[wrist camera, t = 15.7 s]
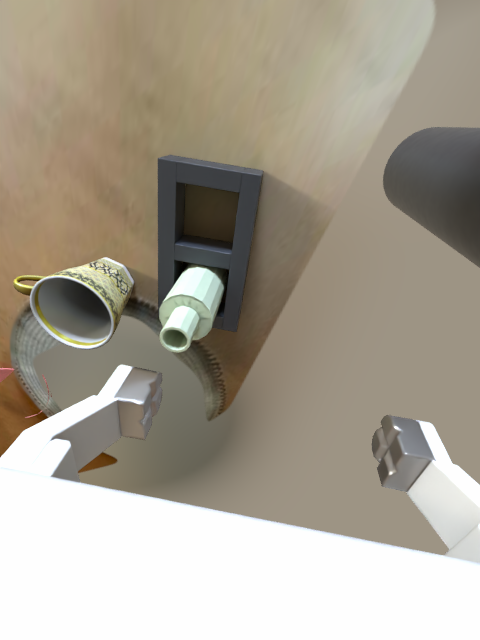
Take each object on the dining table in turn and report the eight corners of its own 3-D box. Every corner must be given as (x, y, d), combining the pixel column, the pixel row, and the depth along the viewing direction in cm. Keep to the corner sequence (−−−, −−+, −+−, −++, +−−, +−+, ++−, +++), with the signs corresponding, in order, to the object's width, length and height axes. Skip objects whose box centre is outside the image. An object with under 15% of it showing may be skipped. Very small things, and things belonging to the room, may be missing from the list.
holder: (263, 170, 35) (261, 175, 32) (239, 316, 46) (236, 332, 42) (169, 154, 36) (157, 157, 32) (167, 303, 46) (158, 318, 43)
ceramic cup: (153, 265, 43) (121, 299, 35) (136, 319, 48) (105, 361, 40) (60, 223, 41) (3, 248, 33) (53, 284, 47) (2, 320, 38)
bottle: (229, 260, 41) (206, 320, 29) (224, 298, 44) (202, 368, 32) (186, 252, 42) (144, 309, 29) (184, 291, 45) (146, 357, 32)
